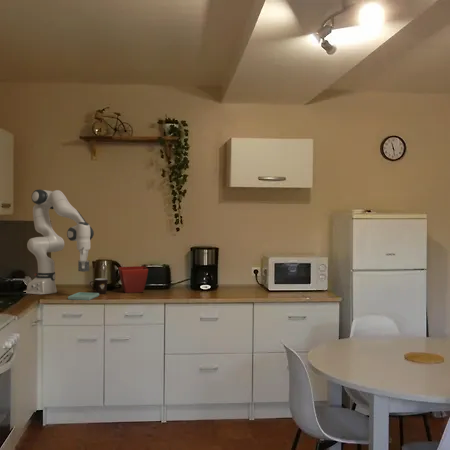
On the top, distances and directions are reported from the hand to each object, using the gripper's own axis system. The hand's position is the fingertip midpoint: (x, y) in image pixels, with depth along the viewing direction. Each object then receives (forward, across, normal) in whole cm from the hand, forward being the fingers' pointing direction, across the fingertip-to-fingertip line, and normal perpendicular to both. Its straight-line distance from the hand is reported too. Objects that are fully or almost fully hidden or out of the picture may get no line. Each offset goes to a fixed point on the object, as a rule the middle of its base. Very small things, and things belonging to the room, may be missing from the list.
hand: (83, 267), depth 373 cm
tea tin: (+2, 0, 0) cm, 2 cm away
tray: (+20, 0, 0) cm, 20 cm away
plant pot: (+20, +21, -33) cm, 44 cm away
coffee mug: (+20, +16, -10) cm, 27 cm away
